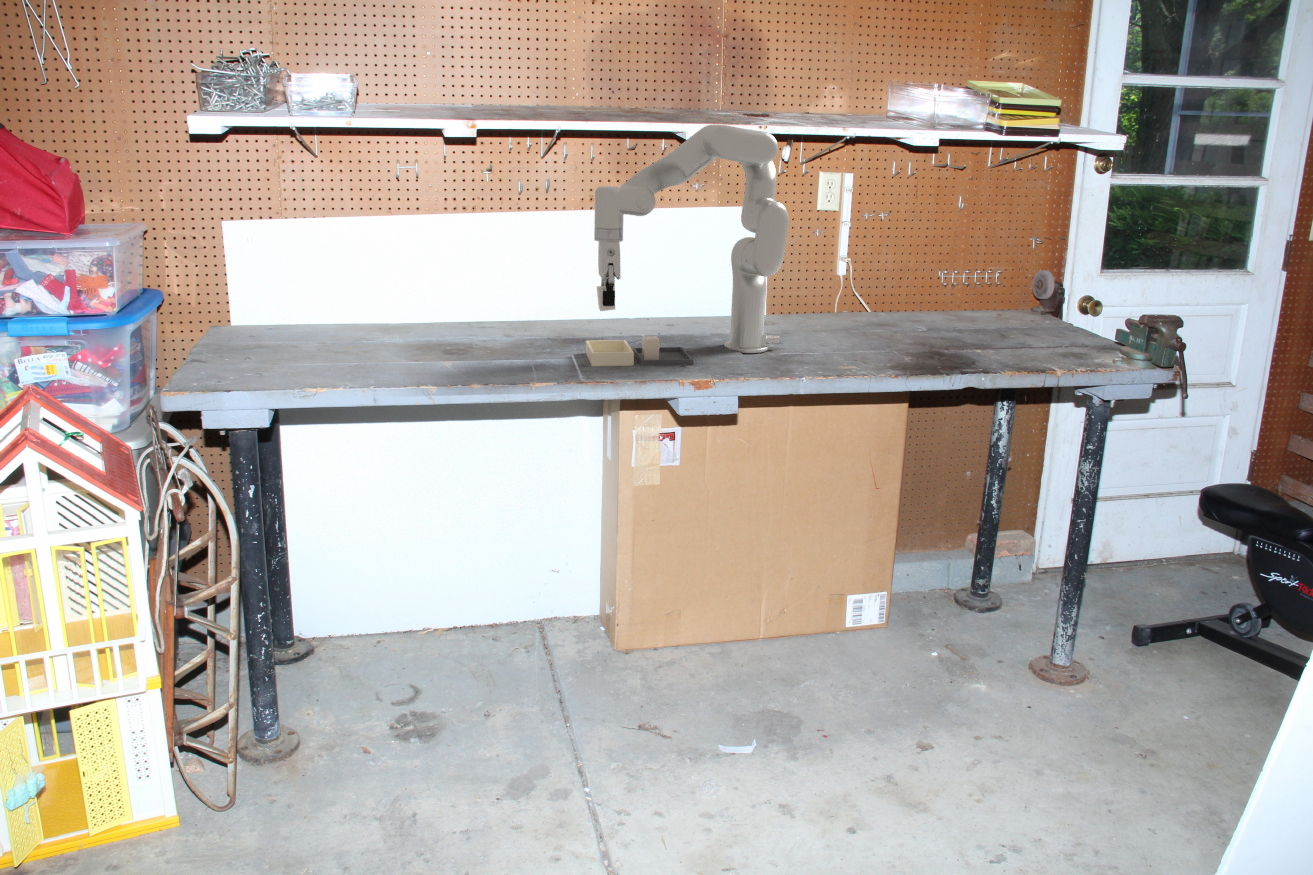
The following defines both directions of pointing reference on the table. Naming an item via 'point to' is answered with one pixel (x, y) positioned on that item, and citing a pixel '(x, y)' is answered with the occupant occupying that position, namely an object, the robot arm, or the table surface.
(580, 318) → the table surface
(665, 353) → the pan
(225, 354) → the table surface
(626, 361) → the tub
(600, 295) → the stone
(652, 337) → the stone
